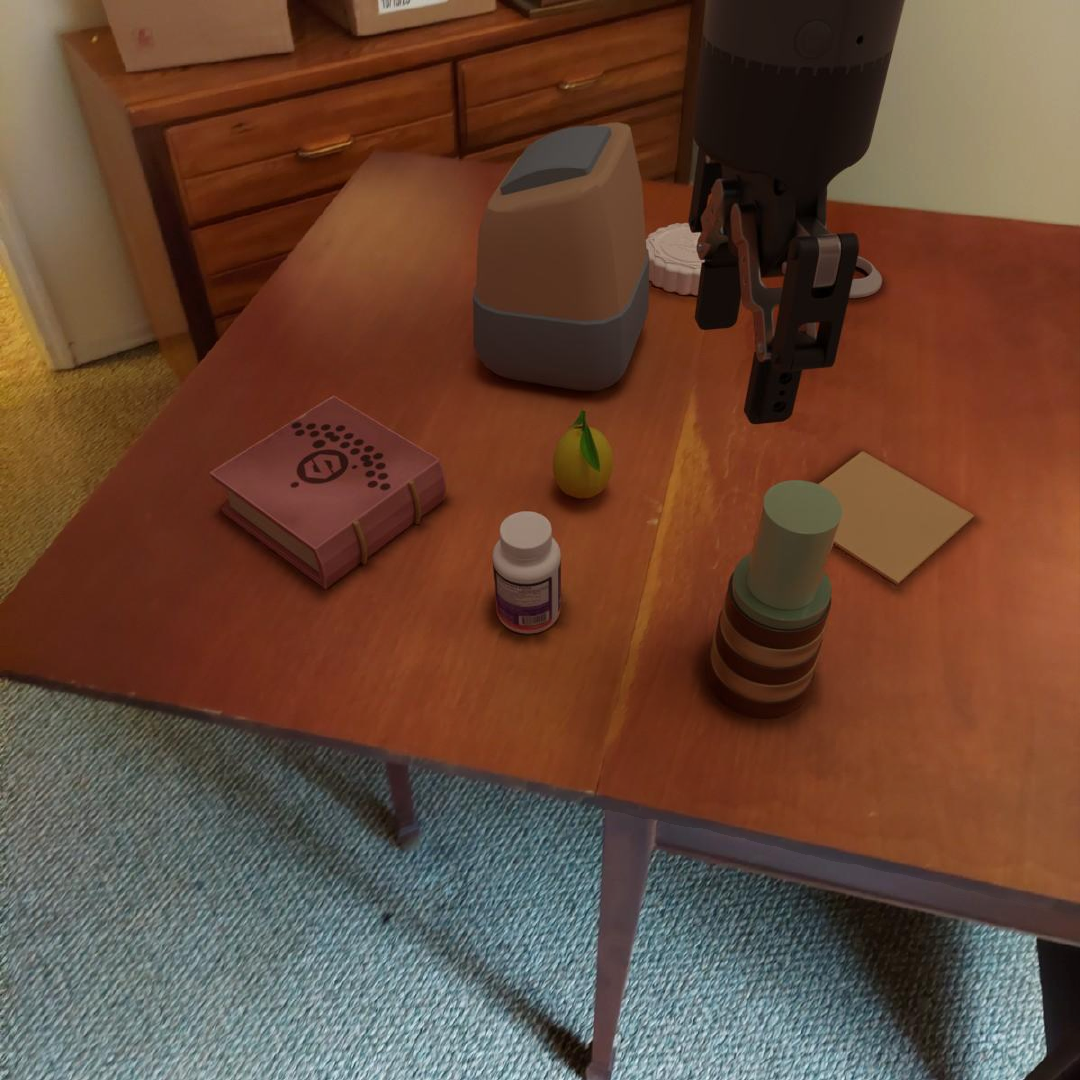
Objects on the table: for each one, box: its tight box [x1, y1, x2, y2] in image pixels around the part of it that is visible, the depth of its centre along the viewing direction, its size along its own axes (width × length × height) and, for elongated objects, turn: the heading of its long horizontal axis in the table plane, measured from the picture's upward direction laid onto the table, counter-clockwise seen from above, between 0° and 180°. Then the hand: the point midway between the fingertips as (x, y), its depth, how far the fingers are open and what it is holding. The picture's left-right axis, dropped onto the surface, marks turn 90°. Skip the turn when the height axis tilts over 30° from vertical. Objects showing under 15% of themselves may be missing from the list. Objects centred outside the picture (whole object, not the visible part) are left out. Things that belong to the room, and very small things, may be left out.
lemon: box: [552, 408, 614, 499], centre depth 85 cm, size 7×6×10 cm
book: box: [209, 395, 447, 590], centre depth 86 cm, size 14×15×5 cm
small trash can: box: [472, 121, 650, 392], centre depth 96 cm, size 17×17×23 cm
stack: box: [705, 571, 832, 719], centre depth 71 cm, size 8×8×10 cm
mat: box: [817, 450, 975, 586], centre depth 87 cm, size 12×12×1 cm
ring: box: [849, 255, 883, 299], centre depth 114 cm, size 8×8×2 cm
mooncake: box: [646, 222, 705, 297], centre depth 115 cm, size 12×12×4 cm
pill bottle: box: [491, 510, 562, 635], centre depth 76 cm, size 5×5×10 cm
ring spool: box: [731, 479, 842, 629], centre depth 65 cm, size 7×7×8 cm
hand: (738, 369), depth 49 cm, fingers open, 8 cm apart
